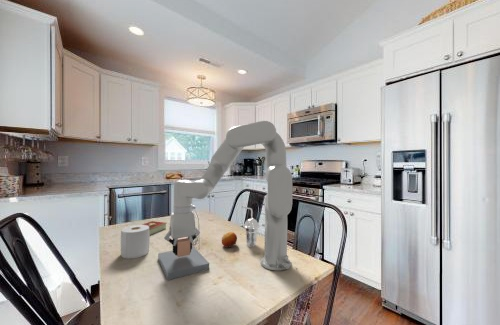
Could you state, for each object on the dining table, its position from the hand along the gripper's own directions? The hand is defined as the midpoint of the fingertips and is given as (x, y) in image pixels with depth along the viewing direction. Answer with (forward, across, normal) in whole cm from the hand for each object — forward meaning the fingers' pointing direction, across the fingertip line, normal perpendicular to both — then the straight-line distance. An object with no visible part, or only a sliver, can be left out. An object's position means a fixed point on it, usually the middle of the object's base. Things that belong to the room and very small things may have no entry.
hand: (182, 252), depth 93 cm
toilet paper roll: (+5, +16, -22) cm, 28 cm away
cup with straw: (+5, -36, -3) cm, 37 cm away
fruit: (+5, -26, -8) cm, 28 cm away
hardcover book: (+6, +7, -52) cm, 53 cm away
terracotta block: (+1, 0, 0) cm, 1 cm away
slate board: (+5, 0, 0) cm, 5 cm away
